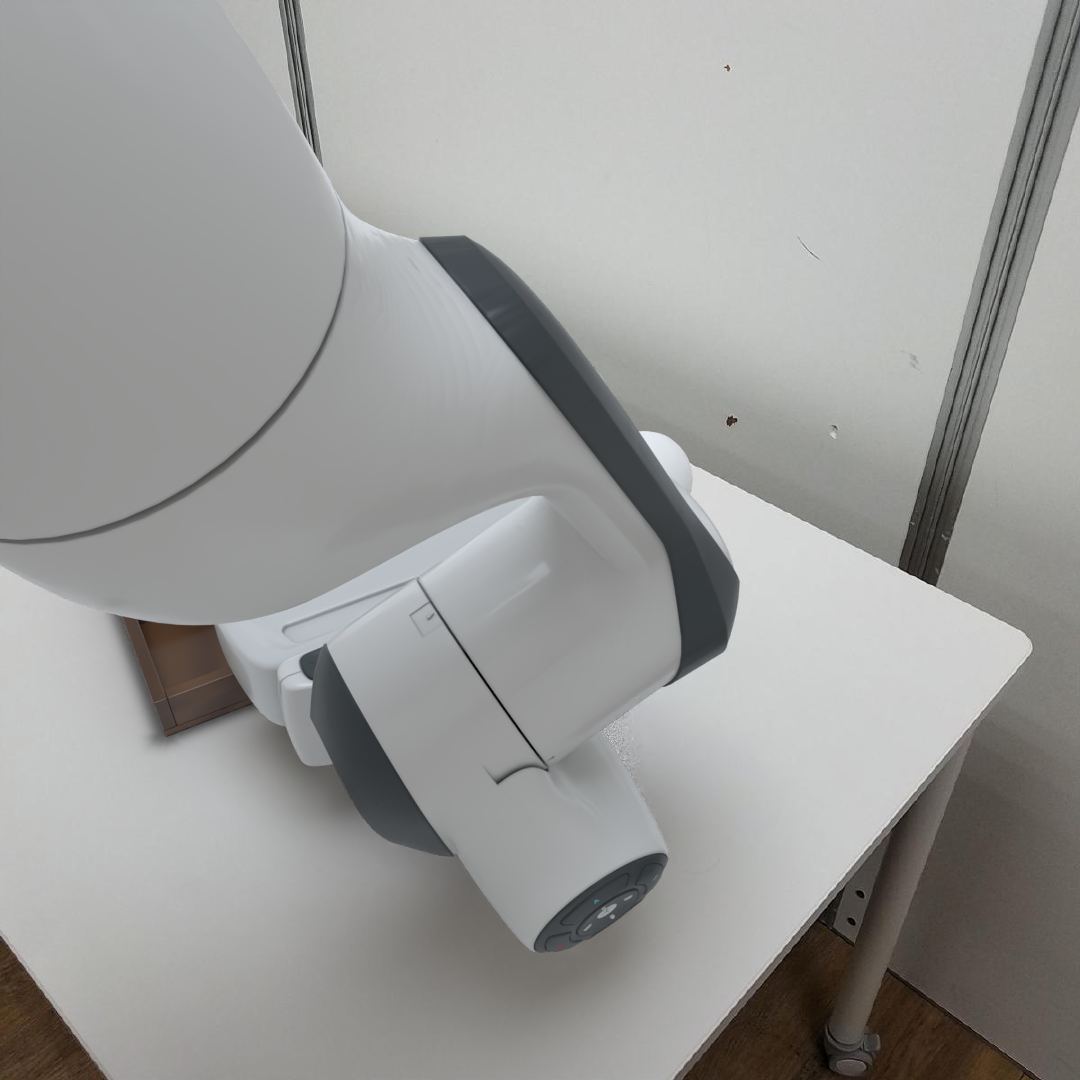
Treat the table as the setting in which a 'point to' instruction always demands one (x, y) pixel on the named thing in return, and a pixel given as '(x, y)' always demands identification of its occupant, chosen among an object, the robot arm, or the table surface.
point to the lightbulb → (670, 458)
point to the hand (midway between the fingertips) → (353, 513)
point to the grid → (184, 672)
